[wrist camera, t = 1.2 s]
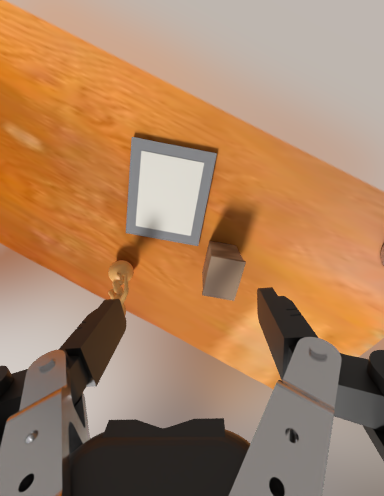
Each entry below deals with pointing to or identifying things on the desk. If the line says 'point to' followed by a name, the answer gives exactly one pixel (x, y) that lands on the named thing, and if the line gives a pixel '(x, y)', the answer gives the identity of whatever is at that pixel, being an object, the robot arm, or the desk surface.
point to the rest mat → (168, 190)
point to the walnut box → (222, 271)
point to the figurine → (120, 280)
